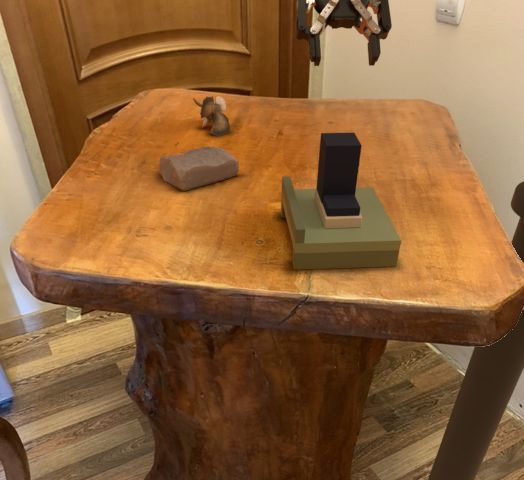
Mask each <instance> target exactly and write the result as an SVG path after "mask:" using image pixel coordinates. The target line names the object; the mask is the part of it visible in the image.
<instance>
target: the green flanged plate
mask: <svg viewBox="0 0 524 480" xmlns="http://www.w3.org/2000/svg"><path fill="white" fill-rule="evenodd" d="M315 189H316V188H295V187H294V185H293V182H292V178H291V175H290V176H289V175H287V176H281V198H280V199H281V201H280V216H281V219H286V224H287V226H288V227H287V228H288V232H289V236H290V240H291V244H292V260H291V261H292V262H291V264H292V269H293V271H295V270H297V271H298V270H300V271H302V270H326V269H327V270H330V269H358V268H387V267H388V268H390V267H397V264H398V260H399V254H400V250H401V245H402V239H401V237H400V234H399V233H398V231H397V229H396V228H395V225H394V224H393V222H392V220H391V217H390V216H389V215H388V212H387V211H386V208H385V206H384V204H383V203H382V201H381V199H380V198H379V196H378V194H377V192H376V190H375V188H374V187H372V186H371V187H367V186H366V187H365V186H364V187H356V192H355V197H356V199H357V201H358V203H359V206H360V214H361V216H362V223H361V227H358V228H324V225H323V222H322V219H321V216H320V213H319V211H318V208H317V205H316V202H315V199H314V196H315Z"/></svg>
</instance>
